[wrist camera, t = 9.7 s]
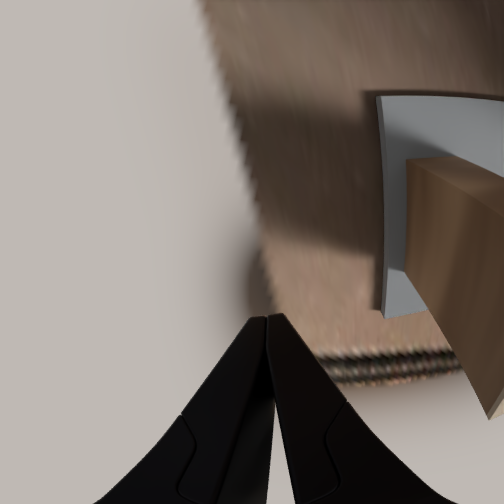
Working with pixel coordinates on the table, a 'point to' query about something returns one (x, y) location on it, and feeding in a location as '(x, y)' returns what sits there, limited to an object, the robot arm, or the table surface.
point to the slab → (461, 263)
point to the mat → (427, 146)
